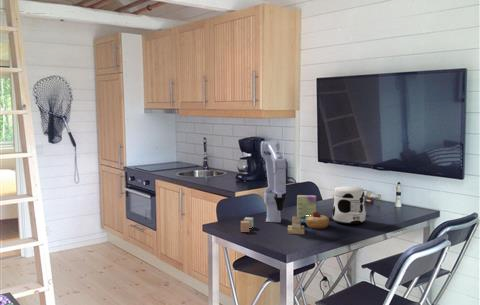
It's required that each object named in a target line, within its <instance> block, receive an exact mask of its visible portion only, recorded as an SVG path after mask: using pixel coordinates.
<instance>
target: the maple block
mask: <svg viewBox="0 0 480 305" xmlns="http://www.w3.org/2000/svg"><path fill="white" fill-rule="evenodd" d="M301 218H302V217H297V216H292V218H291V225H292V229H300V228H301V226H302V225H301V224H302V219H301Z"/></svg>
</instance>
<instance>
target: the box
mask: <svg viewBox="0 0 480 305" xmlns="http://www.w3.org/2000/svg"><path fill="white" fill-rule="evenodd" d="M296 198H297V199H296V215H297V216H296V217H301V218H305V217H304V216H305V215H313V213H314V212H317V196H316V195H315V194H314V195H313V194H311V195H309V194H308V195H305V194H304V195H303V194H297V196H296Z"/></svg>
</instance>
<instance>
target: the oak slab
mask: <svg viewBox="0 0 480 305" xmlns="http://www.w3.org/2000/svg"><path fill="white" fill-rule="evenodd" d="M287 234H288V235H293V234H294V235H305V225H301V228H300V229H292V224H291V225H287Z"/></svg>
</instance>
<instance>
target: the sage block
mask: <svg viewBox="0 0 480 305" xmlns="http://www.w3.org/2000/svg"><path fill="white" fill-rule="evenodd" d="M243 221H249V228H252V227H253V228H254V217H249V216H248V217H247V216H245V217H244V218H243ZM253 228H252V229H253Z"/></svg>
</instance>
